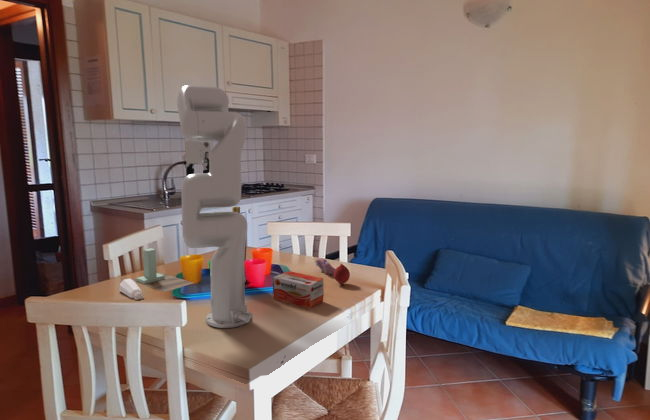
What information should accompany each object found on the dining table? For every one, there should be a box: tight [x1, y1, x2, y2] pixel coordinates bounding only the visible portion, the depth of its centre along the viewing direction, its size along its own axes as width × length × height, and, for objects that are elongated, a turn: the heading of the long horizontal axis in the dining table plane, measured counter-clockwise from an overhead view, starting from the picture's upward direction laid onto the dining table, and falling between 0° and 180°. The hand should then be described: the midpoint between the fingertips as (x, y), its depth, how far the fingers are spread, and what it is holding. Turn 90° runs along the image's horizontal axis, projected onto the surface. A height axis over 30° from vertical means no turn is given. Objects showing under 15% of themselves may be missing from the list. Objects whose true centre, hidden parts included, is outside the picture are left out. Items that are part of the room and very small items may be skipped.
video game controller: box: [315, 257, 336, 276], centre depth 176 cm, size 10×5×7 cm, turn 26°
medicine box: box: [272, 270, 325, 310], centre depth 146 cm, size 15×8×8 cm, turn 56°
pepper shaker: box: [118, 278, 144, 301], centre depth 146 cm, size 5×5×11 cm
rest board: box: [132, 272, 194, 293], centre depth 160 cm, size 20×12×1 cm, turn 54°
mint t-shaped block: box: [135, 247, 165, 285], centre depth 160 cm, size 5×8×11 cm, turn 143°
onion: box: [333, 263, 351, 286], centre depth 162 cm, size 6×6×8 cm
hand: (198, 179), depth 167 cm, fingers open, 9 cm apart
